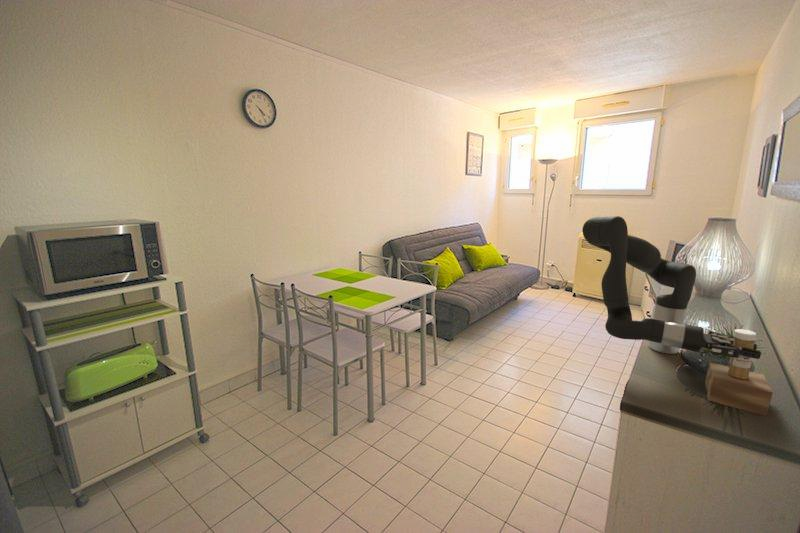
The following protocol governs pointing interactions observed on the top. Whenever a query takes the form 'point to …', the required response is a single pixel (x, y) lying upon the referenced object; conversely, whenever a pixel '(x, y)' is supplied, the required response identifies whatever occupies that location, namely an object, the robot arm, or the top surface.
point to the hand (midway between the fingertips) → (757, 351)
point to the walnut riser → (738, 390)
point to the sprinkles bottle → (743, 363)
